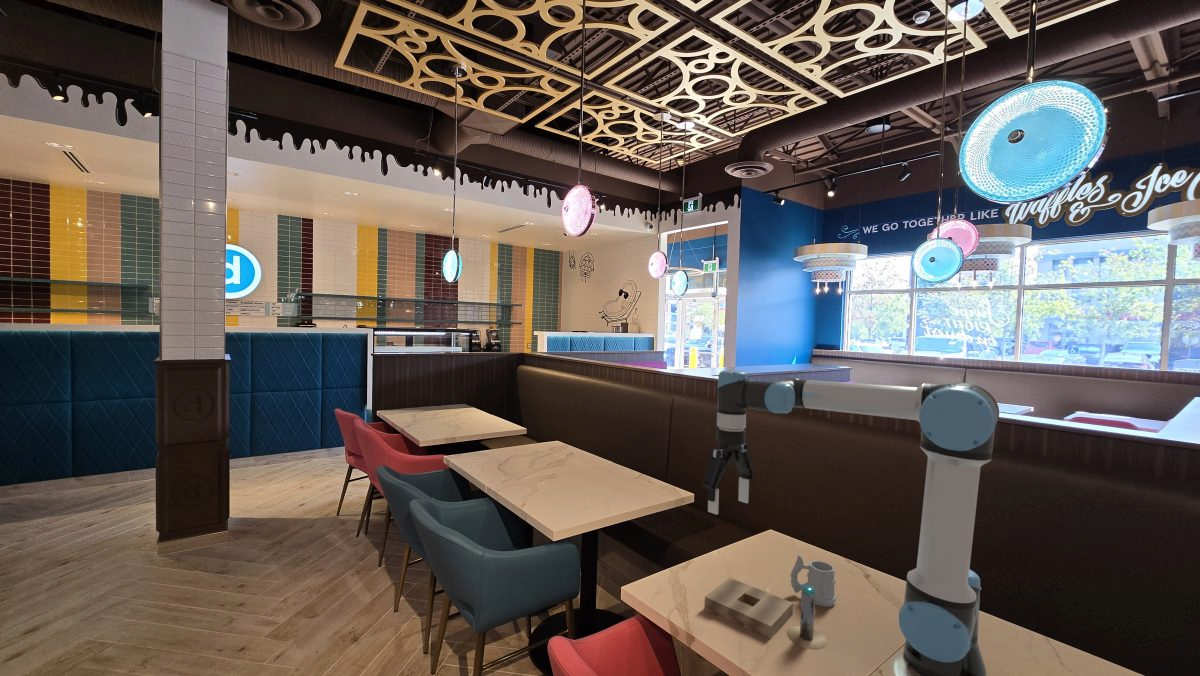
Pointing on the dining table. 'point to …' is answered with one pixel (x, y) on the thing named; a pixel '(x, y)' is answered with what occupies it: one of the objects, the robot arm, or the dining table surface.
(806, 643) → the coaster
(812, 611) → the peg
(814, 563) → the mug
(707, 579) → the dining table surface
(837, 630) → the dining table surface
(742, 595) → the hole board
